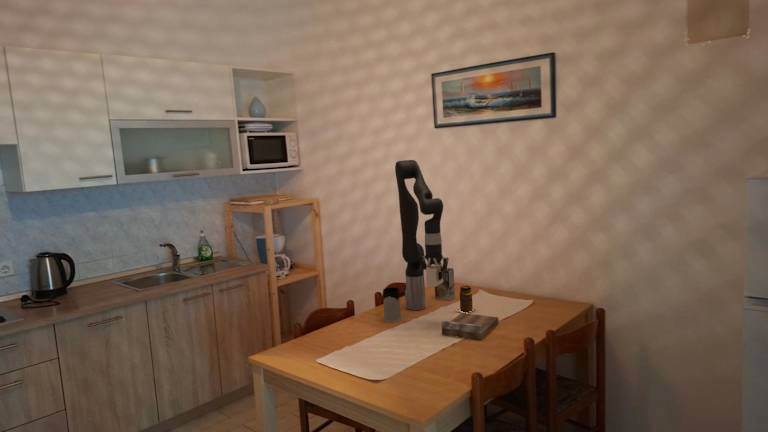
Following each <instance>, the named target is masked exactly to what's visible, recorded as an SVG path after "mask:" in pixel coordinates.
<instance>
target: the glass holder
mask: <svg viewBox="0 0 768 432" xmlns="http://www.w3.org/2000/svg"><path fill="white" fill-rule="evenodd" d="M382 292H383V293H382V295H383V298H382V299H383V300H382V301H383V314H384V316H383V322H385V323H387V324H394V323H400V322H401V321H402V320H403V318H402V316H401V301H400V300H401V299H400V290H399V288H398V287H386V288H383V290H382Z"/></svg>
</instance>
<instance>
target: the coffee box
mask: <svg viewBox="0 0 768 432" xmlns="http://www.w3.org/2000/svg"><path fill="white" fill-rule="evenodd" d="M454 273H455V272H454V268H453V267H451V268H450V267H447V269H446V270H445V271H443V283H441V284H440V285H438V286H436V287H434V295H435V298H434V299H435V300H443V301H452V300H454V299H455V298H456V294H455V293H456V292H455V291H456V290H455V275H454Z"/></svg>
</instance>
